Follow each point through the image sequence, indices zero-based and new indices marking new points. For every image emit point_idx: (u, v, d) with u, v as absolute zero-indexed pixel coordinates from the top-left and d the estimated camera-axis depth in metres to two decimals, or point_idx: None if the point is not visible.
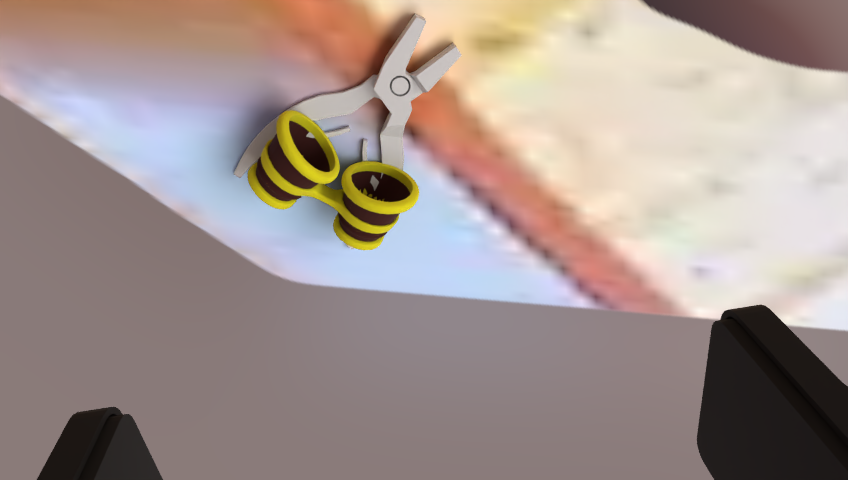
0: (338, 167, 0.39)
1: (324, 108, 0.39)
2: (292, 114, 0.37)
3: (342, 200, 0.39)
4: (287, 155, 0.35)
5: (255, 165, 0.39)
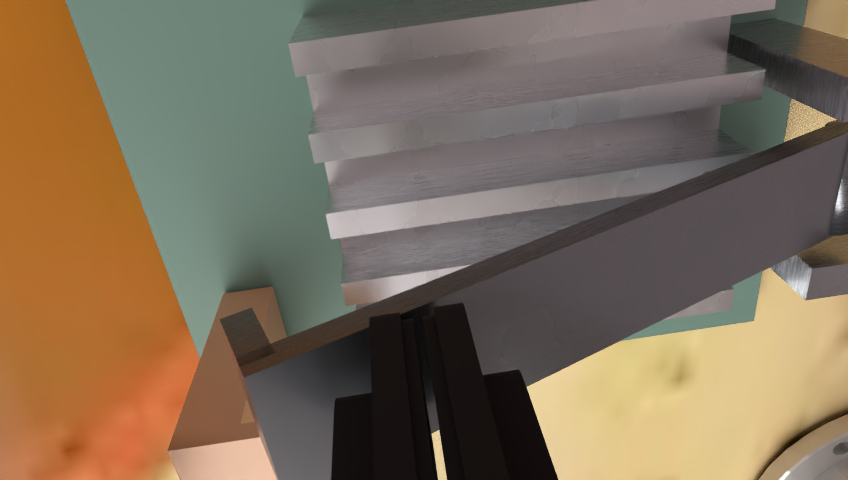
0: None
1: None
2: None
3: None
4: None
5: None
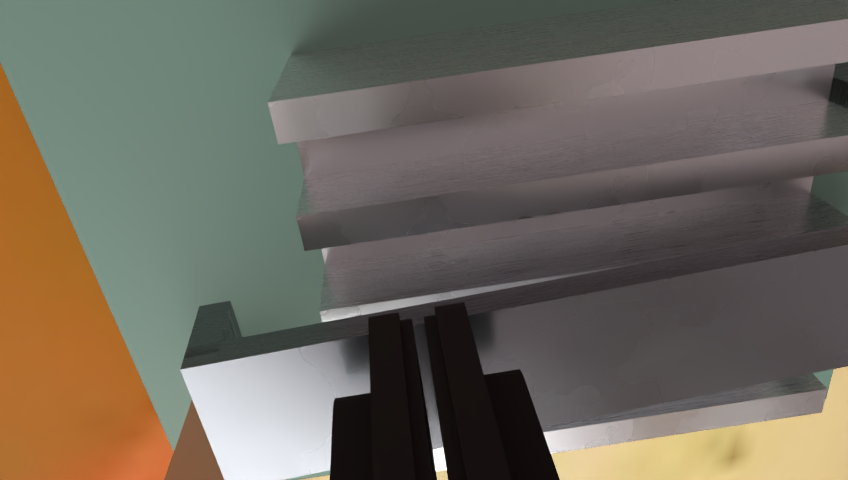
0: None
1: None
2: None
3: None
4: None
5: None
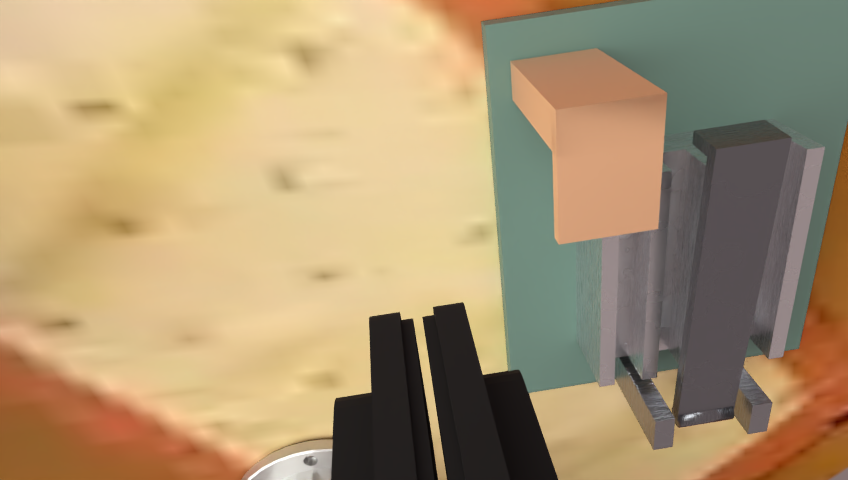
0: None
1: None
2: None
3: None
4: None
5: None
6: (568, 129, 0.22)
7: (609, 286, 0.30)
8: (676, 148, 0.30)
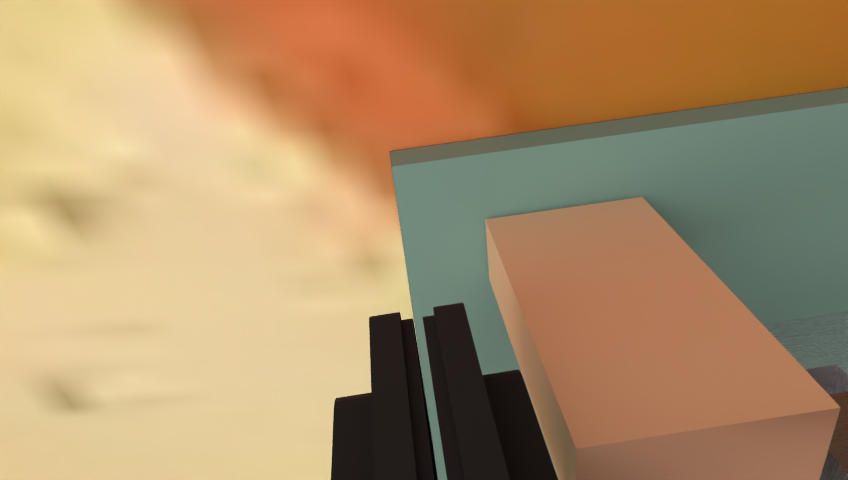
0: None
1: None
2: None
3: None
4: None
5: None
6: None
7: None
8: None
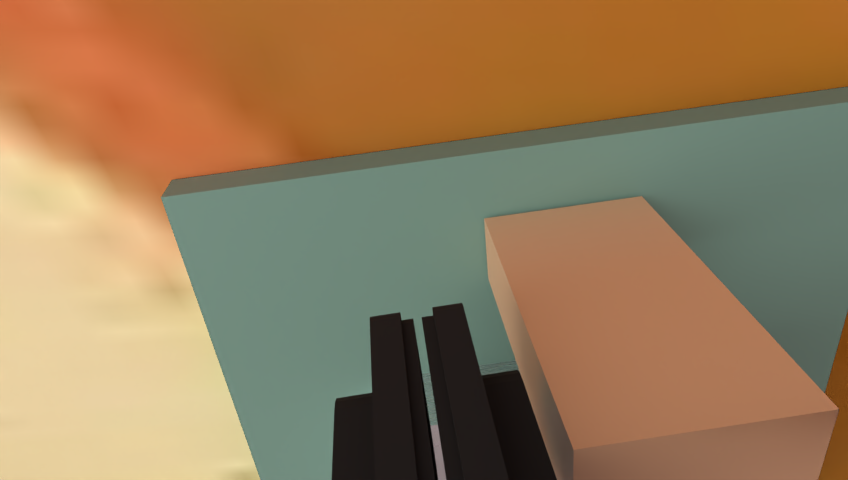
0: None
1: None
2: None
3: None
4: None
5: None
6: None
7: None
8: None
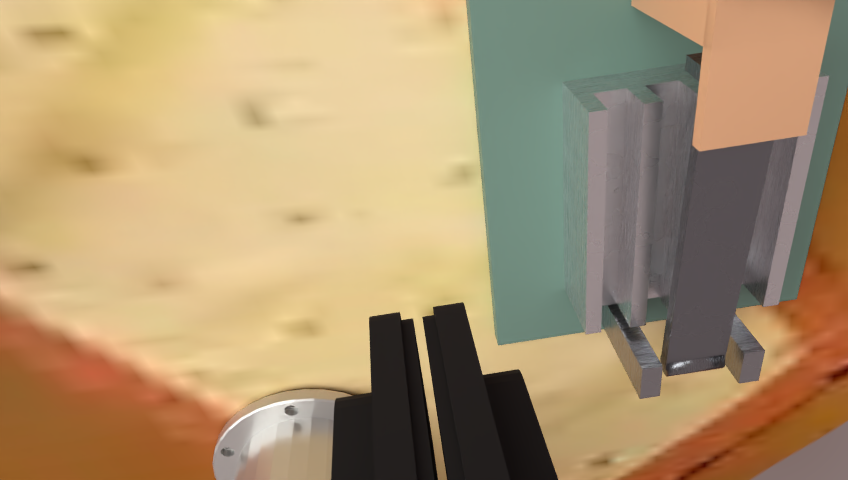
0: None
1: None
2: None
3: None
4: None
5: None
6: (728, 18, 0.21)
7: (595, 227, 0.29)
8: (669, 79, 0.28)
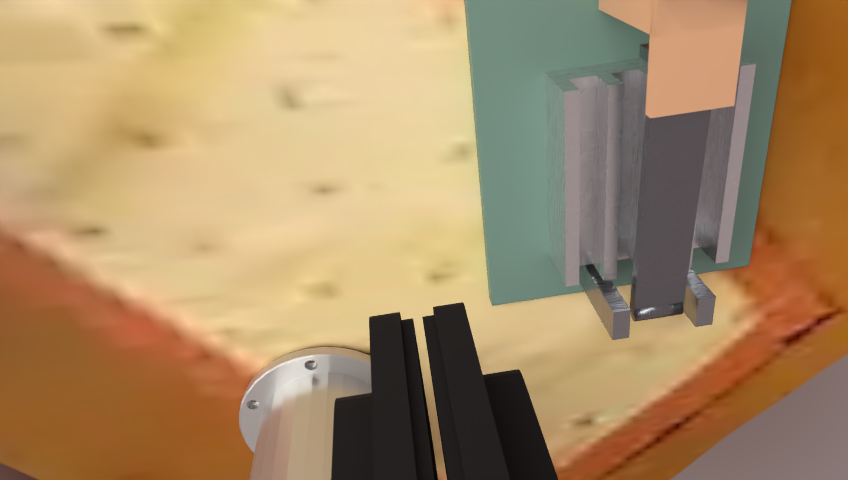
0: None
1: None
2: None
3: None
4: None
5: None
6: (667, 11, 0.27)
7: (572, 190, 0.35)
8: (630, 69, 0.34)
